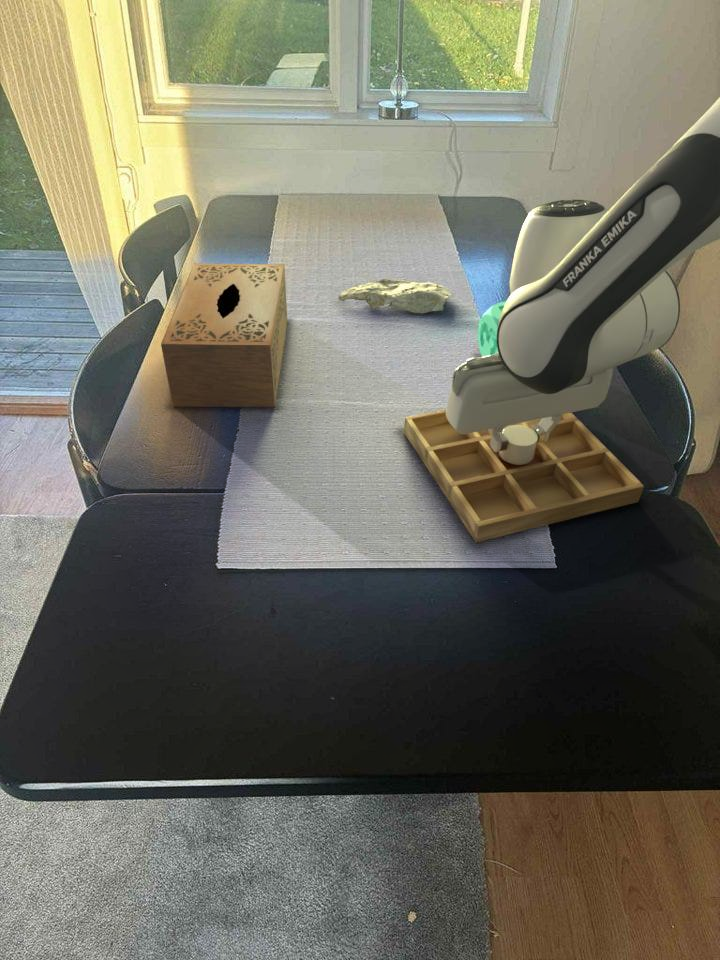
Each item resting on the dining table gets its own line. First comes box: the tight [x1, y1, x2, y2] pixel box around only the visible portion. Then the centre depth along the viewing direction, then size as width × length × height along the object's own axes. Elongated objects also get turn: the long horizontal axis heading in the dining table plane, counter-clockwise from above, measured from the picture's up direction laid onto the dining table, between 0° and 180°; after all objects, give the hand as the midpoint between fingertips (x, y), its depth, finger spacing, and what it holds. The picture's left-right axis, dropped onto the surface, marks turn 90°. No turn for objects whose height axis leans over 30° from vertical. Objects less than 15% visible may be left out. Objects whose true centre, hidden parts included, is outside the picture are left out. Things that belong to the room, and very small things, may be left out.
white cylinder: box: [499, 425, 538, 465], centre depth 88 cm, size 4×4×3 cm
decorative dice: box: [477, 300, 507, 357], centre depth 108 cm, size 8×8×8 cm
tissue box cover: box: [160, 262, 288, 408], centre depth 106 cm, size 26×14×10 cm, turn 1°
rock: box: [337, 277, 452, 314], centre depth 126 cm, size 19×11×2 cm, turn 75°
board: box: [403, 408, 645, 543], centre depth 89 cm, size 22×22×3 cm
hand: (518, 444), depth 88 cm, fingers closed on white cylinder, 4 cm apart
